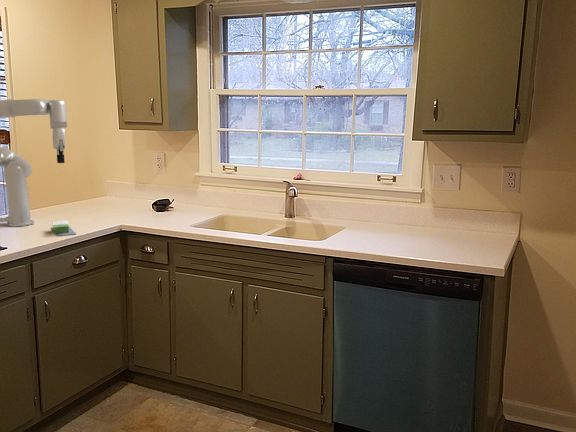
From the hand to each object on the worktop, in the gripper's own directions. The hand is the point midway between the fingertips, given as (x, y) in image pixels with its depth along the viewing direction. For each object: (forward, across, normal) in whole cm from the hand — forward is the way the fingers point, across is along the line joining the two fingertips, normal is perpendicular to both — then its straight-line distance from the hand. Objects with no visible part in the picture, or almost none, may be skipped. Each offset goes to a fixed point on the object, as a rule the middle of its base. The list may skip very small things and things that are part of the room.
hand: (60, 162), depth 268 cm
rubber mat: (+31, +19, -3) cm, 36 cm away
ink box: (+28, +14, -4) cm, 32 cm away
